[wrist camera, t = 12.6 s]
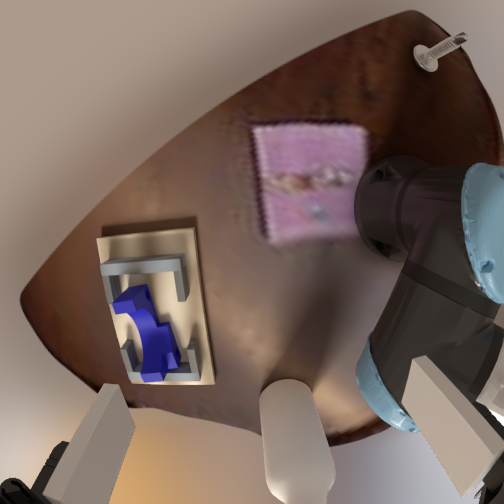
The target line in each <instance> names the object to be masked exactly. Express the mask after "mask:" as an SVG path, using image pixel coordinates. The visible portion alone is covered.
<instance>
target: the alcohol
mask: <svg viewBox="0 0 504 504" xmlns="http://www.w3.org/2000/svg"><path fill="white" fill-rule="evenodd" d="M259 405H260V416H261V428H262V439H263V451H264V461H265V472H266V482H267V485H268V487H269V489H270V491H271V493H272V494H273V495H274V496H276V497H277V498H278V499H279V500H281V501H283V502H284V504H327V500H326V498H327V493H328V492H329V490H330V488H331V487H332V485H333V483H334V481H335V470H336V469H335V465H334V461H333V458H332V455H331V452H330V449H329V446H328V442H327V439H326V436H325V433H324V430H323V427H322V423H321V420H320V417H319V414H318V411H317V408H316V405H315V402H314V399H313V395H312V392H311V390H310V388H309V387H308V386H307V385H306V384H305V383H303V382H301V381H298V380H294V379H282V380H278V381H276V382H273V383H272V384H270V385H269V386H268V387H267V388H266V389H265V390H264V391H263V392H262V393H261V396H260V399H259Z"/></svg>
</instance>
